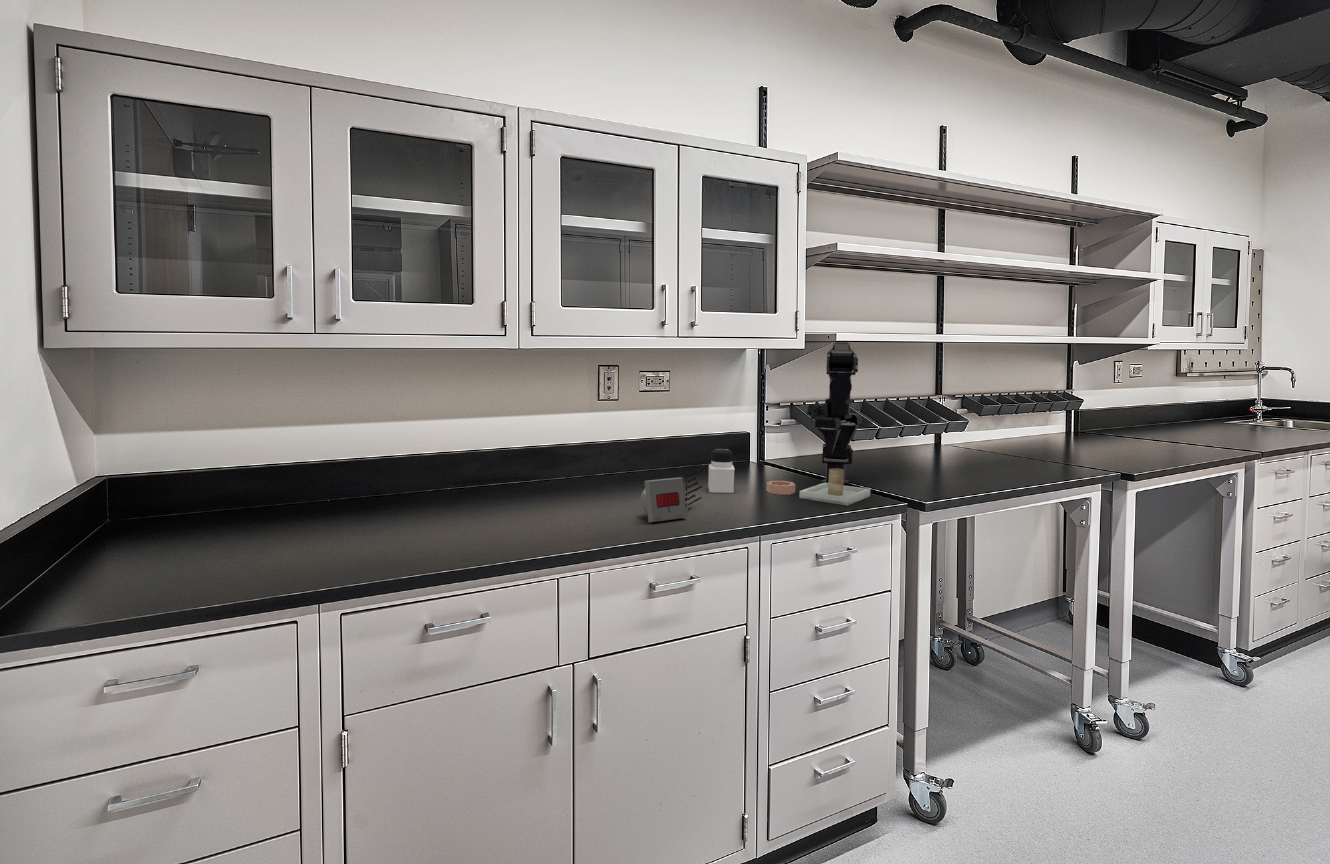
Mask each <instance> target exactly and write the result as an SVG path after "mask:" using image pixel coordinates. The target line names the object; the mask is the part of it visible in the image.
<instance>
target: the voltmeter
mask: <svg viewBox="0 0 1330 864" xmlns="http://www.w3.org/2000/svg"><path fill="white" fill-rule="evenodd" d="M704 470H705V469H704V468H700V469H698V470H696V471H693V472H692V473H690V474H688V473H686V474H685V482H686V485H685V484H684V478H683V477H671V478H660V479H652V480H651V479H650V480H644V488H643V490H642V492H641V494H640V500H639V501H640V507H641V509H642V510H643V512H644V513H645V514H646V515H647V521H648V522H647V523H648V524H649V523H650V524H651V523H657V522H658V523H659V522H665V521H673V520H679V519H680V520H681V519H685V518H688V517H687V516H688V515H687V510H688V511H690V510H692V508H693V507H692V506H690V505H693V504H694V503H696V502H697V501H700V500H701V499H702V496H700V497H698V498H696V494H692V493H693V492H696V491H698V490H699V489H703V485H699V486H698V487H696V488H694V489H692V490H689V491H688V489H690V488H692V487H694V486H697V485H698V483H699V482H698V481H696V482H694V483H691V482H693V481H695V480H697V477H696V476H695V477H692V478H690V479H688V478H689V477H691V476H694V475H696V474H699V473H700V472H703V471H704ZM687 479H688V480H687ZM689 483H691V484H689ZM688 484H689V485H688ZM684 485H685V486H684ZM690 494H692V495H690ZM689 495H690V496H689ZM687 496H688V497H687ZM693 498H695V499H693ZM691 499H693V501H691V502H688V501H690V500H691ZM687 502H688V503H687ZM688 506H690V507H688Z"/></svg>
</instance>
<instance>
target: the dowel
mask: <svg viewBox="0 0 1330 864" xmlns="http://www.w3.org/2000/svg"><path fill="white" fill-rule="evenodd" d="M843 476H844V470H843V469H837V468H831V469H829V482H828V494H829V495H835V496H841V495H843V485H844V484H843Z"/></svg>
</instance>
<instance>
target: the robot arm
mask: <svg viewBox="0 0 1330 864" xmlns="http://www.w3.org/2000/svg"><path fill="white" fill-rule="evenodd" d="M858 370H859V358H858V355H857V354H856V353H855V352H854V350H853V349H851V343H849V342H847V341H846V342H843V341H836V342H833V343H832V348H830V349H829V351H828V352H827V353H826V375H828V378H829V387H828V388H829V390H828V398H826V399H825V400H824V404H821V405H817V403H812V404H811V403H810V404H808V407H807V412H806V415H807V416H808V417H810V421H813V427H814V428H816V430H817V431H819V432H820V433H821V434H822V436H823V439H824V442H825V443H823V444H822V457H821V460H822V461H821V462H822V464H826V466H825V467H826V468H825V479H822V480H821V481H820V482H821V483H828V482H829V469H831V468H837V469H843V470H844V476H843V485H844V484H847V483H850V480H848V479H847V480H846V478H845V477H846V465H849V466H850V465H853V455H854V454H853V453H854V449H852V448H853V447H852V445H851V444H850V443H851V441H852V439H853V437H854V435H855V433H856V432H857V430H858V428H860V425H862V421H863V419H862V416H861V415H860V413H852V412H850V411H851V404H853V403H854V402H853V401H854V399H853V398H851V394H852V393H851V392H852V389H853V385H852V376H856V374H857V373H858V372H859V371H858Z"/></svg>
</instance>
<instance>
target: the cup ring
mask: <svg viewBox="0 0 1330 864" xmlns="http://www.w3.org/2000/svg"><path fill="white" fill-rule="evenodd" d="M765 488H766V489H765V490H766V492H767V493H769V494H773V495H777V496H778V495H780V496H783V495H784V496H785V495H787V496H789V495H790V496H791V495H793V494H796V483H794V482H793V481H788V480H787V481H786V480H770V481H767V482H766V487H765Z"/></svg>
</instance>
